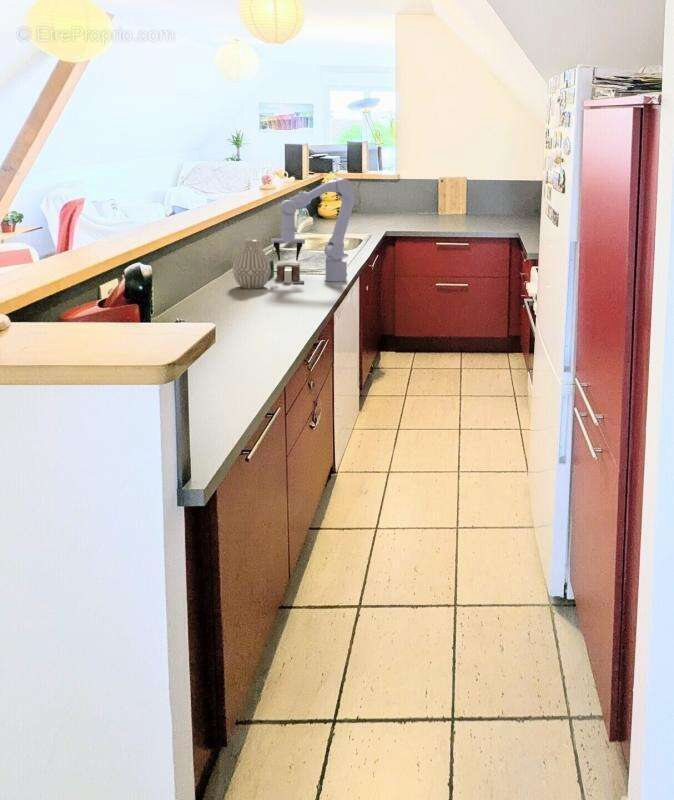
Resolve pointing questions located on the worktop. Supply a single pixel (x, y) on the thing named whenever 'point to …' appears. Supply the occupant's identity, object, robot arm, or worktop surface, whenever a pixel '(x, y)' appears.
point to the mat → (298, 282)
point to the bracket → (271, 268)
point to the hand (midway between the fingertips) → (288, 260)
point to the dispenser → (295, 270)
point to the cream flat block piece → (288, 274)
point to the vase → (251, 266)
